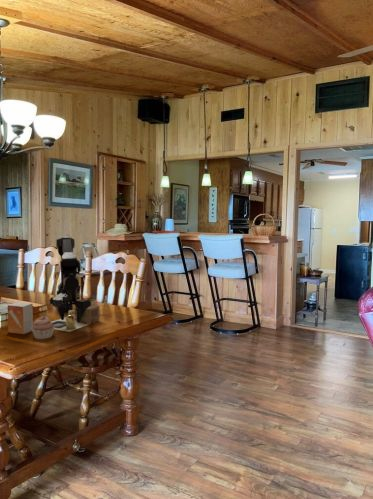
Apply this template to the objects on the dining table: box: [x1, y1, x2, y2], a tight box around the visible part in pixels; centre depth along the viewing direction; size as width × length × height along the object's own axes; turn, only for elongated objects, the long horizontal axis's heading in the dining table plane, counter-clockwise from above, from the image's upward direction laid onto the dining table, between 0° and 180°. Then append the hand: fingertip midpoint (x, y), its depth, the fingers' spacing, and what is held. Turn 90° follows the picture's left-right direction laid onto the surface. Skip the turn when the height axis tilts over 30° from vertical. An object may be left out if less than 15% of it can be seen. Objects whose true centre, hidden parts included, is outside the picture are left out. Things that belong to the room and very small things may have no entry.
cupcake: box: [31, 315, 55, 340], centre depth 169 cm, size 9×9×10 cm
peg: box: [65, 313, 76, 330], centre depth 180 cm, size 4×4×6 cm
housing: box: [75, 304, 100, 325], centre depth 191 cm, size 8×7×7 cm
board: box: [51, 309, 98, 333], centre depth 189 cm, size 18×20×5 cm
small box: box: [7, 301, 34, 335], centre depth 176 cm, size 8×6×13 cm
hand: (70, 321), depth 181 cm, fingers open, 9 cm apart
